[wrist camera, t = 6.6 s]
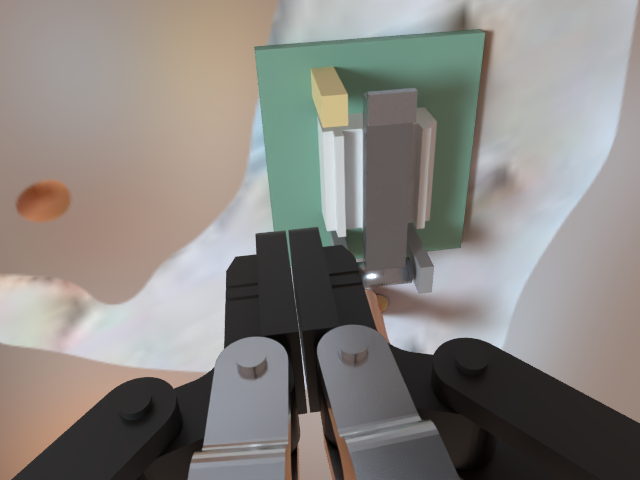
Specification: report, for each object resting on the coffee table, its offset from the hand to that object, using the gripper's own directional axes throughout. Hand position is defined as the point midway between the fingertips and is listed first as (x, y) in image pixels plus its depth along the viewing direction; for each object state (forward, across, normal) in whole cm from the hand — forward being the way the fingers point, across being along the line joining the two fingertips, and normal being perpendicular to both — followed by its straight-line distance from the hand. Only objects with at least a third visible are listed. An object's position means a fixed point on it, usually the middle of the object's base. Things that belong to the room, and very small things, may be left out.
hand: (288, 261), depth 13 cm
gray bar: (+23, -8, +11) cm, 27 cm away
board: (+28, -8, +11) cm, 31 cm away
